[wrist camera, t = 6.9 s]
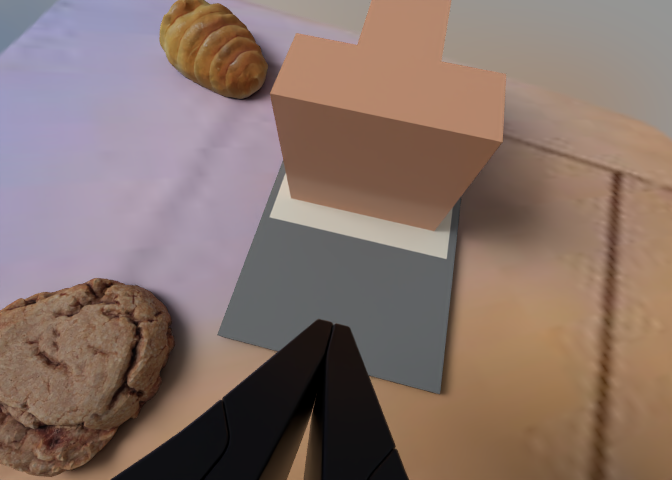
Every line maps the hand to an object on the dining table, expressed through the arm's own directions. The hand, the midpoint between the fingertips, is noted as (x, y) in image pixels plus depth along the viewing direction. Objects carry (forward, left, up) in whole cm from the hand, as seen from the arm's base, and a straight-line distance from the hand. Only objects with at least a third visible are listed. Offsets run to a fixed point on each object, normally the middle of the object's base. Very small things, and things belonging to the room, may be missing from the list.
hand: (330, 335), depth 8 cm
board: (+9, -5, -12) cm, 16 cm away
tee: (+13, -8, -11) cm, 19 cm away
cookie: (+4, +14, -12) cm, 19 cm away
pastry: (+26, +2, -12) cm, 29 cm away
